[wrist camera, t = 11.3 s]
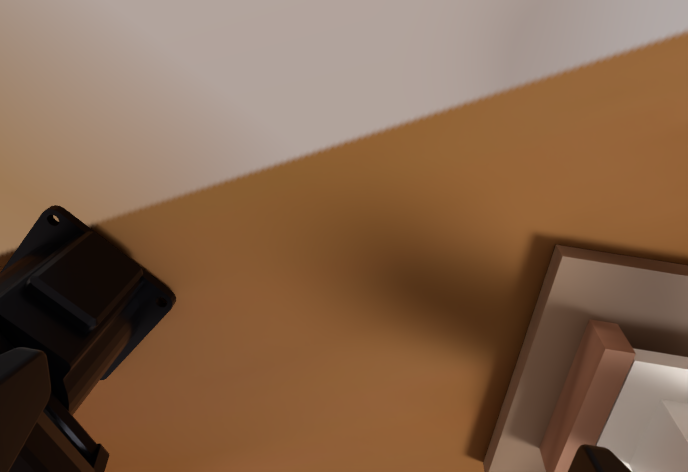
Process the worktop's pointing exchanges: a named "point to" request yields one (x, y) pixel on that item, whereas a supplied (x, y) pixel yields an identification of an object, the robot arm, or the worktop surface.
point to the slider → (650, 415)
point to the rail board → (584, 353)
